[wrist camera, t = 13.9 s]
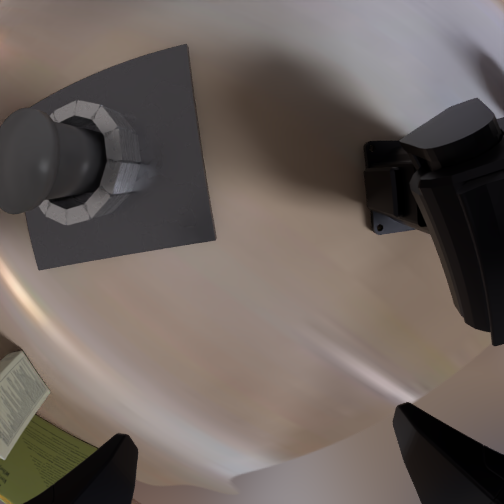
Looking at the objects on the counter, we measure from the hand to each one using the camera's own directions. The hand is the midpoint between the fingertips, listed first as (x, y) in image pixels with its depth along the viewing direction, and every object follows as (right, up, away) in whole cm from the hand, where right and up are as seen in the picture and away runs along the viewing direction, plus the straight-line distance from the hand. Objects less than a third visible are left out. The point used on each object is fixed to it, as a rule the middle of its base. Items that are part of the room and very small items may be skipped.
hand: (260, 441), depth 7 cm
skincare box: (-27, -8, +16) cm, 32 cm away
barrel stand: (-12, +12, +10) cm, 20 cm away
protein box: (-28, -22, +19) cm, 41 cm away
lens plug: (-12, +12, +10) cm, 19 cm away
